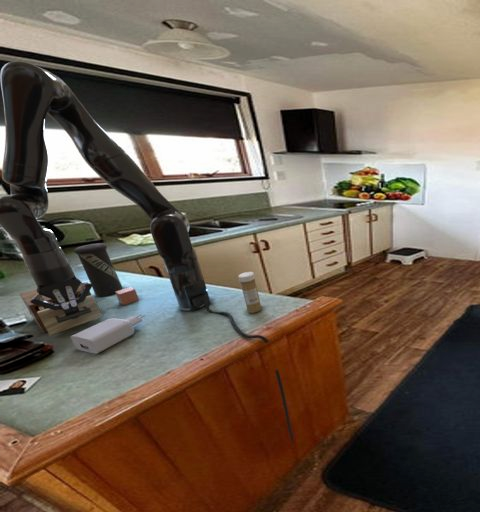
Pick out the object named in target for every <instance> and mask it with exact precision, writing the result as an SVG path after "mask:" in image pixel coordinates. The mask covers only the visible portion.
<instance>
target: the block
mask: <svg viewBox="0 0 480 512" xmlns="http://www.w3.org/2000/svg"><path fill="white" fill-rule="evenodd" d="M114 294H115V295H116V298H117V299H118V302H119V303H120V304H121V305H123V306H127V305H129V304H132V303H135V302H138V301H139V300H140V298H139V295H138V293H137V291H136V289H135V288H133V287H132V286H128V287H125V288H123V289H122V290H119V291H116V292H115V293H114Z"/></svg>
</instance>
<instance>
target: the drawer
mask: <svg viewBox="0 0 480 512" xmlns="http://www.w3.org/2000/svg"><path fill="white" fill-rule="evenodd" d="M78 295H79V294H76V295H74V296H75V299H77V297H78ZM64 300H65V301H66V303H67V304H68V306H70V305H69V302H68V299H67V297H66V298H64ZM50 303H53V304H56V305H58V304H59V303H58V301H57V300H56V301H53V302H50ZM77 306H78V308H79V312H76V313H73V314H70V315H67V316H66V315H65V313H64V311H63V310H62V309H60V310H52V309H49V308H45V307H42V306H36V308H37V310H38V312H37V313H38V315H39V317H40V318H41V320H42V322H43V324H44V326H45V328H46V329H47V331H48V332H47V333H48V335H49V336H53V335H56V334H58V333H62V332H64V331H67V330H69V329H72V328H74V327H78V326H80V325H83V324H86V323H89V322H92V321H95V320H97V319H100V318H103V314H102V312H101V310H100V308H99V306H98V304H97V302H96V299H95V297H94V295H93V294H91V295H90V296H87V297H86V298H85V300H84V302H81V303H79V304H78V305H77ZM78 316H79V317H78ZM75 317H78V318H75ZM72 318H75V319H72Z"/></svg>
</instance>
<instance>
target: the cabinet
mask: <svg viewBox="0 0 480 512" xmlns="http://www.w3.org/2000/svg"><path fill="white" fill-rule="evenodd" d="M81 290H82V289H81V288H80V286H79V287H78V289H77V291H76V293H75V294H74V295H76V294H79V293H80V291H81ZM36 294H37V288H36V289H33V290H29V291H25V292H21V293H19V296H20V297H21V300H22V302H23V303H24V304H25V306H26V308H27V310H28V311H29V314H30V316H31V318H32V319H33V320H34V322H35V324H36V325H37V326H38V327H39V329H40V330H41V331H42V333H43V334H46V333H48V331H47V329H46V328H45V326H44V324H43V322H42V320H41V318H40V317H39V315H38V313H37V312H38V310H37V308H36V306H39V305H36V304H33V303H31V302H30V301H29V299H30V298H32V297H34V296H35V295H36ZM90 295H92V293H91V290H90V291H89V293H88V295H87V296H90ZM42 297H43V298H44V301H47V302H53V301H56V300H54V299H51V298H48V297H45V296H42ZM64 298H66V297H64Z"/></svg>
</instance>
